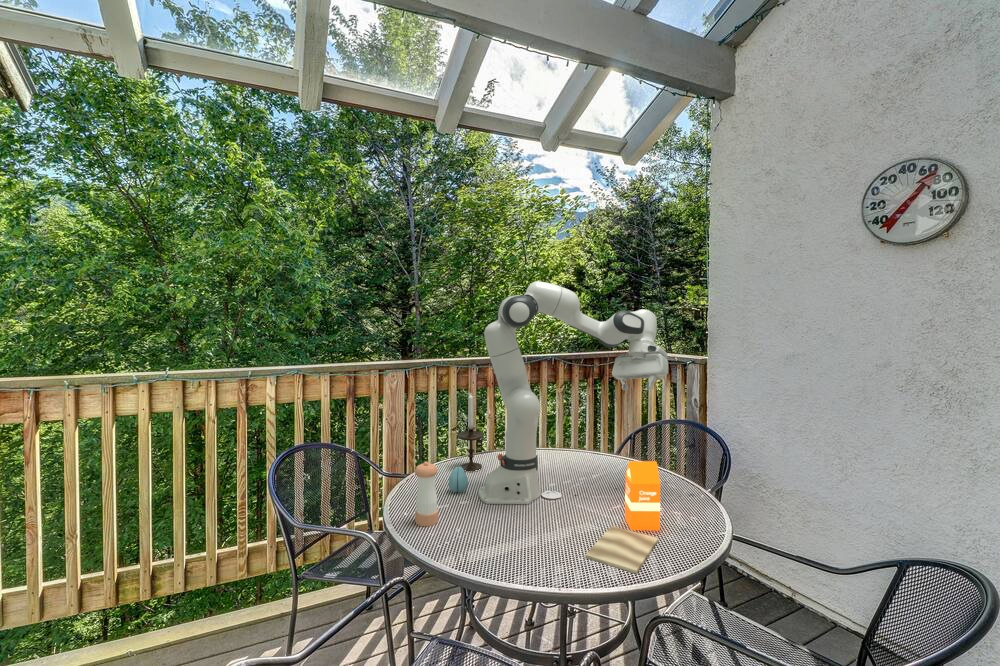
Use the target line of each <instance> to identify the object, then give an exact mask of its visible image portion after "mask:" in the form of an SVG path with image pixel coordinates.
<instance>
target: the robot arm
mask: <svg viewBox="0 0 1000 666" xmlns="http://www.w3.org/2000/svg"><path fill="white" fill-rule="evenodd" d="M580 308H581V303H580V298H579V296H578V295H577V293H575V292H574V291H572V290H571V289H568V288H567V287H566V288H565V287H564V286H560V285H557V284H554V283H551V282H545V281H541V280H539V281H538V280H535V281H533V282H531V283H530V284H529V285H528V286H527V288H526V292H524V294H523V295H515V294H514V295H513V294H512V295H510V296H507V297H505V298H503V300H501V302H500V303H499V306H498V309H497V315H496V318H495V321H493V322H491V323H489V324H488V325H487V326H486V327H485V329H484V333H483V334H484V340H485V346H486V349H487V352H488V356H489V359H490V363H491V365H492V368H493V371H494V375H495V378H496V381H497V384H498V385H497V386H498V389H499V391H500V395H501V399H502V402H503V404H504V407H505V409H506V410H507V423H506V430H505V431H506V432H505V454H504V455H503V454H502V453H499V454H497V459H498V461H499V462H500V465H499V466H497V467H496V468H494V470H492V471H491V472H490V473H488V474H487V475H486V477H485V481H484V486H480V488H479V489H478V497H480V498H479V499H480V500H481V502H483V503H485V504H487V505H529V504H531V503H532V501H535V500H536V499H538V498H539V497H541V495H542V492H541V490H540V485H539V479H538V468H539V460H538V458H539V457H538V455H537V433H538V432H537V431H538V425H539V417H540V413H541V404H540V400H539V397H538V396H537V395H536V394H535V393H534V392H533V391H532V389H531V387H530V383H529V379H528V374H527V370H526V369H527V368H526V367H527V366H526V364H525V361H524V358H523V355H522V353H521V349H520V346H519V344H518V341H517V335H516V333H517V329H518V328H523V327H525V326H527V325H528V324H530V322H531V321H532V320H533V319H534V317H535V315H536V314H537V313H541V314H545V315H547V316H550V317H552V318H555V319H558V320H559V321H562V322H563V323H564V324H566V325H567V326H569V327H571V328H573V329H575V330H577V331H580V332H582V333H583V334H586V335H588V336H590V337H592V338H594V339H596V340H597V341H598V342H599V343H600V344H601V345H603V346H604V347H607V348H616V347H619V345H621V344H622V343H623V342H624V341H625V340H627V341H629V345H628V352H627V353H626V354H619V355H617V356H616V357H615V358H614V364H613V366H612V371H611V375H612V377H613V378H614V379H616V380H617V381H618V380H620V384H621V390H623V391H628V389H629V385H628V384H626V382H627V381H628V380H631V379H647V378H648V379H649V382H646V386H645V387H646V389H647V390H653V388H654V384H655V382H657V380H658V378H665V377H666V376H667V375H668V374H669V360H668V353H667V352H666V350H664V348H662V347H660V346H659V345H656V343H655V339H656V338H657V331H658V324H657V323H658V321H657V316H656V314H654V313H653V312H652V311H650V310H648V309H642V308H641V309H638V310H635V311H628V310H626V309H625V310H622V309H621V310H619V311H617V312H616V313H614V314H613V315H612V316H610V317H609V319H607V320H604V321H599V320H597V319H595V318H592V317H590V316H589V315H586V314H584V313H583V312H582V311H581V310H580Z"/></svg>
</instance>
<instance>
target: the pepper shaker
mask: <svg viewBox="0 0 1000 666" xmlns="http://www.w3.org/2000/svg"><path fill="white" fill-rule="evenodd" d="M414 469H415V470H414V474H415V476H416V477H417V491H416V499H415V506H416V507H415V509H416V510H415V511H414V513H415V515H414V517H415V518H414V520H415V521H414V522H416V523H415V524H416V525H417V524H418V525H420V526H419V527H423V526H427V527H432V526H435V525H437V524H438V523H439V508H438V497H437V491H436V475H437V473H438V467H437V466H436V465H435V463H432V462H428V461H424V462H423V463H420V464H418V465H417V466H416V467H415V468H414ZM437 522H438V523H437ZM436 523H437V524H436ZM434 524H435V525H434ZM418 525H417V526H418Z"/></svg>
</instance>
